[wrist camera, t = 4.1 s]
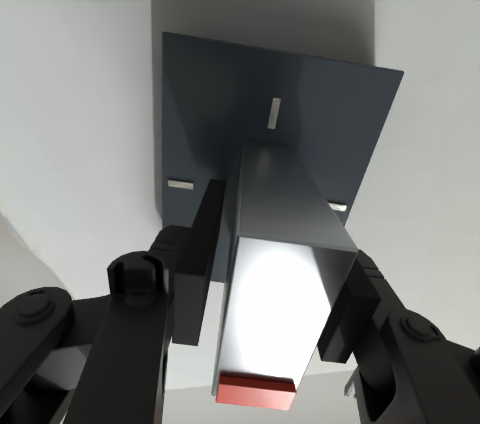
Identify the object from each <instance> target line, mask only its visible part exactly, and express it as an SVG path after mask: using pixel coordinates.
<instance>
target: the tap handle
mask: <svg viewBox="0 0 480 424" xmlns="http://www.w3.org/2000/svg"><path fill="white" fill-rule="evenodd" d="M357 254H358V248H357V246H356V245H355V243H354V242H353V240H352V239H351V237H350V236H349V234H348V233H347V231H346V229H345V228H344V226H343V225H342V223H341V222H340V220H339V219H338V217H337V216H336V214H335V212H334V211H333V209H332V208H331V206H330V205H329V203H328V202H327V200H326V198H325V197H324V195H323V194H322V192H321V191H320V189H319V188H318V186H317V185H316V183H315V181H314V180H313V178H312V177H311V175H310V174H309V172H308V171H307V169H306V168H305V166H304V164H303V163H302V161H301V160H300V158H299V157H298V155H297V154H296V152H295V150H294V149H293V147H292V146H287V145H281V144H274V143H268V142H261V141H254V140H248V139H245V140H244V145H243V152H242V159H241V166H240V172H239V179H238V186H237V193H236V200H235V206H234V213H233V220H232V227H231V234H230V242H229V250H228V258H227V267H226V275H225V283H224V292H223V300H222V308H221V317H220V325H219V334H218V342H217V350H216V359H215V367H214V375H213V384H212V392H211V393H212V395H213V396H216V402H217V403H226V404H235V405H243V406H252V407H261V408H270V409H280V410H289V408H290V406H291V404H292V402H293V399H294V397H295V395H296V391H297V388H298V386H299V384H300V382H301V379H302V377H303V375H304V373H305V370H306V368H307V366H308V364H309V361H310V359H311V357H312V355H313V353H314V350H315V348H316V346H317V344H318V341H319V339H320V337H321V335H322V332H323V330H324V328H325V326H326V323H327V321H328V319H329V317H330V314H331V312H332V310H333V308H334V305H335V303H336V301H337V299H338V296H339V294H340V292H341V290H342V287H343V285H344V283H345V281H346V278H347V276H348V274H349V272H350V270H351V267H352V265H353V263H354V261H355V258H356V256H357Z"/></svg>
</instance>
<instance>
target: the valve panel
mask: <svg viewBox="0 0 480 424" xmlns="http://www.w3.org/2000/svg"><path fill="white" fill-rule="evenodd" d="M403 75H404V72H403V71H400V70H394V69H388V68H382V67H376V66H370V65H364V64H358V63H352V62H346V61H340V60H333V59H327V58H321V57H315V56H309V55H303V54H297V53H291V52H285V51H279V50H273V49H267V48H261V47H255V46H249V45H243V44H236V43H230V42H224V41H218V40H212V39H206V38H200V37H194V36H188V35H182V34H176V33H170V32H162V229H164V228H165V227H167V226H168V225H176V226H183V227H192V224H193V221H194V219H195V216H196V214H197V211H198V209H199V206H200V204H201V201H202V198H203V196H204V193H205V191H206V188H207V186H208V183H209V181H210V179H215V180H222V181H226V185H225V194H224V202H223V210H222V218H221V226H220V233H219V238H218V243H217V248H216V253H215V259H214V264H213V269H212V274H211V279H210V281H214V282H222V283H225V275H226V267H227V258H228V250H229V242H230V234H231V227H232V220H233V213H234V206H235V200H236V193H237V186H238V179H239V172H240V166H241V159H242V152H243V145H244V140H245V139H248V140H254V141H261V142H268V143H274V144H281V145H287V146H292V147H293V149H294V150H295V152H296V154H297V155H298V157H299V158H300V160H301V161H302V163H303V164H304V166H305V168H306V169H307V171H308V172H309V174H310V175H311V177H312V178H313V180H314V181H315V183H316V185H317V186H318V188H319V189H320V191H321V192H322V194H323V195H324V197H325V198H326V200H327V202H328V203H329V205H330V206H331V208H332V209H333V211H334V212H335V214H336V216H337V217H338V219H339V220H340V222H341V223H342V225H343V226H345V223H346V221H347V218H348V215H349V213H350V210H351V208H352V205H353V203H354V200H355V197H356V195H357V192H358V190H359V187H360V185H361V182H362V180H363V177H364V174H365V172H366V169H367V167H368V164H369V162H370V159H371V156H372V154H373V151H374V149H375V146H376V144H377V141H378V139H379V136H380V133H381V131H382V128H383V126H384V123H385V121H386V118H387V116H388V113H389V110H390V108H391V105H392V103H393V100H394V98H395V95H396V92H397V90H398V87H399V85H400V82H401V80H402V77H403Z"/></svg>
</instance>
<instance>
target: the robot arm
mask: <svg viewBox="0 0 480 424" xmlns="http://www.w3.org/2000/svg"><path fill="white" fill-rule="evenodd" d="M225 185H226V181H222V180H215V179H210V181H209V183H208V186H207V188H206V191H205V193H204V196H203V198H202V201H201V204H200V206H199V209H198V211H197V214H196V216H195V219H194V221H193V224H192V227H183V226H176V225H168V226H167V227H165V228H164V229H162V230H161V231H160V232H159V234H158V235H157V237H156V239H155V242H153V244H152V245H151V247H150V249H149V251H137V252H131V253H128V254H125V255H122V256H120V257H118V258H117V259H115V260H114V261H112V263H111V264H110V265H109V267H108V268H107V273H108V280H109V288H110V294H109V295H106V296H102V297H97V298H89V299H81V300H73V301H72V298H71V296H70V294H69V293H68V292H67V291H66V290H64V289H61V288H58V287H42V288H38V289H33V290H30V291H27V292H25V293H23V294H20V295H18V296H16V297H15V298H14V299H12V300H10V301H9V302H7V303H6V304H5V305H3V306H2V307H1V308H0V424H60V422H61V420H62V419H63V417H64V415H65V414H66V416H65V419H64V422H63V424H162V414H163V404H164V393H165V382H166V371H167V361H168V347H169V344H170V340H171V337H172V343H175V344H184V345H192V346H198V342H199V337H200V331H201V326H202V321H203V316H204V311H205V305H206V300H207V295H208V290H209V285H210V279H211V274H212V269H213V264H214V259H215V253H216V248H217V243H218V238H219V233H220V226H221V218H222V210H223V202H224V194H225ZM317 347H318V351H319V354H320V358H321V361H327V362H335V363H344V364H346V362H347V360H348V359H349V357H350V355H351V353H352V351H353V354H354V356H355V359H356V361H357V364H358V366H357V368H356V369H355V371H354V373H353V374H352V376H351V378H350V379H349V381H348V383H347V384H346V386H345V391H344V392H345V393H344V395H346V396H349V394H350V392H351V391H352V389H353V388H354V387H355V395H354V398H355V399H357V404H358V410H359V416H360V422H361V424H480V347H479V348H478V349H477V350H476V351H475V350H472V349H470V348H467V347H464V346H461V345H459V344H456V343H453V342H451V341H448V340H446V338H445V337H444V335H443V334H442V333H441V332H440V330H439V329H438V328H437V327H436V326H435V325H434V324H433V323H431V322H430V321H429V320H428V319H426V318H425V317H423V316H421V315H420V314H418V313H416V312H413V311H410V310H408V309H406V308H405V307H404V305H403V304H402V302H401V301H400V299H399V298H398V296H397V295H396V294H395V292H394V291H393V289H392V288H391V286H390V285H389V283H388V282H387V280H386V279H384V276H383V275H382V273H381V272H380V271H378V267H377V266H376V264H375V263H374V261H373V260H372V259H371V258H370V257H369V256H368V255H366V254H365V253H364V252H363V251H362V250H359V249H358V254H357V256H356V258H355V261H354V263H353V265H352V267H351V270H350V272H349V274H348V276H347V278H346V281H345V283H344V285H343V287H342V290H341V292H340V294H339V296H338V299H337V301H336V303H335V305H334V308H333V310H332V312H331V314H330V317H329V319H328V321H327V323H326V326H325V328H324V330H323V332H322V335H321V337H320V339H319V341H318V344H317ZM67 410H68V411H67ZM66 412H67V413H66Z"/></svg>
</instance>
